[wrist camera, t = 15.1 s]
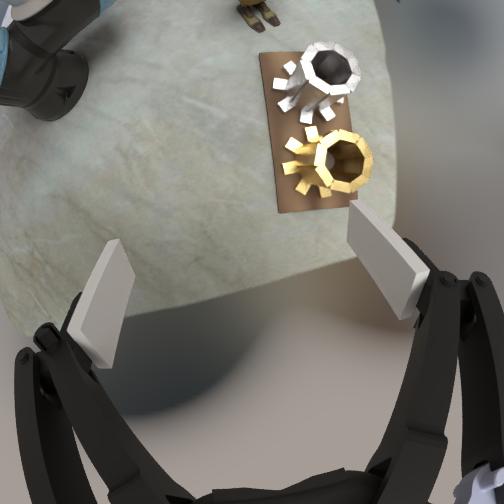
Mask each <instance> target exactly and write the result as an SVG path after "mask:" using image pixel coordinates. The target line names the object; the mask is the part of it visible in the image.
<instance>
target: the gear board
mask: <svg viewBox="0 0 504 504" xmlns="http://www.w3.org/2000/svg"><path fill="white" fill-rule="evenodd" d="M304 53H305V52H266V53H259V58H260V65H261V71H262V78H263V85H264V92H265V100H266V107H267V114H268V122H269V130H270V138H271V146H272V155H273V163H274V172H275V181H276V191H277V200H278V210H279V213H286V212H295V211H305V210H315V209H325V208H336V207H347V206H349V205H350V200H358V195H357V190H356V191H355V192H353V193H352V192H350V193H346V192H341V191H337V190H332V189H330V190H331V195H332V196H329V197H324V198H320V197H319V196H318V191H317V187H316V185H313V184H312V185H311V186H310V188H309V190H308V191H307V193H306V194H305V195H303V194H302V193H300V192H299V191H297V190H295V189H294V187H295V185H296V184H297V182H298V181H299V179H300V176H299V174H298V173H297V172H296V173H291V174H287V175H284V174H283V169H282V165H281V164H282V163H287V162H292V161H294V158H295V154H294V153H292V152H291V151H289V150H287V149H286V148H284V146H285V144H286V143H287V141H288V140H289V138H290V137H292V138H293V139H295V140H296V141H298V142H300V143H301V144H303V143H305V142H306V139H305V135H304V131H303V129H304V128H307V127H313V126H316V129H317V132H318V136H320V135H323V134H326V133H328V132H329V131H331V130H333V131H334V130H339V129H340V130H344V131H348V132H351V133H352V126H351V119H350V112H349V105H348V99H347V95H346V96H345V97H344V101H343V104H341V105H338V104H334V103H333V104H332V105H330V106H329V107H330V109H331V110H332V111H333V113H334V114H335V115H336V116H335V117H333V118H331V119H330V120H328V121H327V122H325V123H324V121H323V120H322V118H321V117H320V116H319V114H318V113H317V112H314V113H313V114H312V122H311V124H310V125H306V124H301V123H298V120H299V113H300V111H299V110H298V109H296V108H292V109H290V110H289V111H287V112H286V113H284V114H283V113H282V112H281V110H280V109H279V108H278V107H277V104H278V103H279V102H281V101H282V100H284V99H286V98H287V97H286V93H284V92H278V91H272V87H273V81H274V78H277V79H283V80H288V79H289V77H288V76H287V74H286V73H285V72H284V71H283V70H282V67H283V66H284V65H285V64H287V63H289V62H291V61H292V62H293V63H294V64H295V65H297V64H298V62H299V60H300V59H301V57H302V56H303V54H304ZM316 77H317V76H316ZM317 78H319V77H317ZM319 79H321V78H319ZM321 80H322V79H321ZM322 81H323V80H322ZM333 166H334V157H333V156H332V154H330V153H329V152H326V159H325V167H326V168H327V170H328V171H330V169H331V168H332V167H333Z"/></svg>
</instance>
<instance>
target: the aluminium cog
mask: <svg viewBox="0 0 504 504" xmlns="http://www.w3.org/2000/svg"><path fill="white" fill-rule="evenodd" d="M352 55H353V54H352V53H350V52H349V51H347V50H346V49H344V48H343V47H341V46H340V45H338V44H336V43H335V44H334V45H333V42H324V43H313V44H312V45H310V46H309V47H308V49H307V50H306V52H305V53H304V54H303V56H302V57H301V59H300V60H299V62H298V64H297V65H295V64H294V63H293V62H292V61H291V62H289V63H287V64H285V65H284V66H283V67H282V70H283V71H284V72H285V73H286V74H287V76H288V77H289V79H288V80H283V79H277V78H274V81H273V87H272V91H278V92H284V93H286V97H287V98H286V99H284V100H282V101H281V102H279V103H278V104H277V107H278V108H279V109H280V110H281V112H282V113H283V114H284V113H286V112H287V111H289V110H290V109H292V108H296V109H298V110H299V111H300V113H299V120H298V123H301V124H306V125H310V124H311V122H312V114H313V113H314V112H317V113H318V114H319V116H320V117H321V118H322V120H323V121H324V123H325V122H327V121H328V120H330V119H331V118H333V117H335V116H336V115H335V114H334V113H333V111H332V110H331V109H330V107H329V106H330V105H332V104H333V103H334V104H338V105H341V104H343V101H344V97H345V96H346V95H348V94H350V93H351V92H353V90H354V89H355V87H356V85H357V84H358V82H359V80H360V79H361V77H360V75H361V72H360V69H359V66H358V63H357V61H356V58H355V57H352ZM316 76H317V77H319V78H321V79H322V80H323V81H322V80H321V79H319V78H317V77H316Z"/></svg>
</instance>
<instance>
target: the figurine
mask: <svg viewBox="0 0 504 504" xmlns="http://www.w3.org/2000/svg"><path fill="white" fill-rule="evenodd" d="M239 1H240V2H241V4H240V5H239V6H237V11H238V12H239V13H240V14H241V15H242V16H243V17H244V19H245V20H246V22H247V24H248V25H249V26H250V27H251V28H252V29H254V30H256V31H257V32H263V31H265V30H266V29H265V27H264V25H263V24H262V22H261V21H260V19H259V18H257V17H256V16H255V15H253V14H252V12H251V10H250V8H249V6H248V5H252V6H253V7H255V8H256V9H258V10H259V11H260V12H261V13H262V16H263V18H264V19H265V20H266V21H268V22H269V23H270V24H272V25H273V26H278V25H280V24H281V23H280V21H279V19H278V18H277V16H276V14H275V13H273V12H272V11H271V10H270V9H269V8H268V7H267V5H266V4H265V3H264V1H266V0H239Z"/></svg>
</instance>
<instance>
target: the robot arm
mask: <svg viewBox="0 0 504 504" xmlns="http://www.w3.org/2000/svg"><path fill="white" fill-rule="evenodd" d="M1 1H3V2H5V3H8V4H10V5H12V9H11V17H12V19H14V20H13V21H12V22H11V24H10V25H9V26H8V27H7V28H6V27H0V105H4V106H13V107H21V108H25V109H26V110H27V111H29V112H30V113H31V114H32V115H33V116H34V117H36V118H38V119H40V120H47V121H52V120H56V119H59V118H60V117H62V116H64V115H65V114H66V113H68V112H69V111H70V110H71V109H72V108H73V106H74V105H75V104H76V103H77V101H78V100H79V98H80V97H81V95H82V93H83V91H84V88H85V86H86V83H87V79H88V64H87V61H86V59H85V58H84V56H83V55H81V54H79V53H78V52H76V51H73V50H61V49H62V48H63V47H64V46H65V45H66V44H67V43H68V42H69V41H70V40H71V39H72V38H73V37H75V36H76V35H77V34H78V33H79V32H80V31H81V30H83V29H84V28H85V27H86V26H87V25H89V24H90V23H91V22H92V21H93V20H95V19H96V18H98V17H99V16H100V15H101V14H102V13H103V12H104V11H105V10H106V9H107V8H109V7H110V6H111V5H112V4H113V3H114V2H115V1H116V0H1ZM347 242H348V244H349V245H350V246H351V248H352V249H353V251H354V252H355V253H356V255H357V256H358V258H359V259H360V261H361V262H362V263H363V265H364V266H365V268H366V269H367V271H368V272H369V273H370V275H371V277H372V278H373V279H374V281H375V282H376V284H377V286H378V287H379V289H380V290H381V292H382V293H383V295H384V296H385V298H386V299H387V301H388V302H389V304H390V305H391V307H392V309H393V310H394V312H395V313H396V315H397V317H398V318H399V320H402V319H405V318H408V317H411V316H412V315H413V313H414V311H415V308H416V307H417V308H418V310H419V311H420V314H419V316H418V319H417V321H416V323H415V325H414V327H413V328H416V330H415V335H414V340H413V344H412V349H411V353H410V357H409V361H408V365H407V368H406V372H405V376H404V379H403V382H402V386H401V389H400V392H399V395H398V399H397V401H396V405H395V408H394V410H393V413H392V416H391V418H390V421H389V424H388V426H387V429H386V432H385V434H384V436H383V439H382V441H381V444H380V445H379V447H378V449H377V450H376V452H375V453H374V455H373V456H372V458H371V460H370V462H369V463H368V465H367V467H366V469H365V471H364V472H362V471H351V470H347V471H345V469H344V468H341V469H338V470H334V471H330V472H327V473H323V474H319V475H315V476H312V477H310V478H308V479H305V480H303V481H301V482H299V483H297V484H294V485H292V486H290V487H288V488H285V489H282V490H264V489H253V488H232V489H213V490H212V493H210V494H208V495H205V496H202V497H201V498H199V499H195V498H194V497H193V496H192V495H191V494H190V493H189V492H188V491H187V490H185V489H184V488H183V487H181V486H180V485H179V484H177V483H176V482H175V481H174V480H172V478H171V477H170V476H169V475H168V474H167V473H166V472H165V471H164V470H163V469H162V468H161V467H160V465H159V464H158V463H157V462H156V461H155V459H154V458H153V457H152V456H151V455H150V453H149V452H148V451H147V450H146V449H145V447H144V446H143V445H142V444H141V442H140V441H139V440H138V438H137V437H136V436H135V434H134V433H133V432H132V430H131V429H130V428H129V426H128V425H127V423H126V422H125V421H124V419H123V418H122V416H121V415H120V413H119V412H118V410H117V409H116V407H115V406H114V404H113V403H112V401H111V400H110V398H109V396H108V395H107V393H106V392H105V390H104V388H103V386H102V385H101V383H100V381H99V380H98V378H97V376H96V374H95V373H94V371H93V370H92V369H91V364H92V362H93V363H94V364H95V365H96V366H97V367H98V368H112V365H113V360H114V355H115V351H116V347H117V342H118V338H119V334H120V330H121V326H122V322H123V318H124V314H125V311H126V307H127V303H128V300H129V296H130V293H131V290H132V286H133V283H134V280H135V277H136V276H135V274H134V271H133V269H132V267H131V265H130V262H129V260H128V258H127V255H126V253H125V251H124V248H123V246H122V243H121V241H120V239H115V240H110V241H108V242H107V244H106V246H105V248H104V250H103V252H102V254H101V256H100V258H99V259H98V261H97V263H96V265H95V267H94V269H93V271H92V273H91V276H90V278H89V280H88V282H87V284H86V286H85V288H84V290H83V292H80V293H79V294H78V295H77V296H76V297H75V299H74V300H73V302H72V304H71V307H70V309H69V311H68V313H67V314H68V315H67V316H66V318H65V321H64V323H63V325H62V328H61V330H60V332H59V331H58V329H57V328H56V327H55V325H54V324H53V323H50V322H48V323H45V324H43V325H41V326H40V327H39V328H38V329H37V331H36V332H35V334H34V337H33V338H34V339H33V342H34V343H35V344H36V345H37V346H38V347H39V348H40V350H41V351H40V352H37V353H35V352H34V351H33V350H32V349H31V348H30V347H25V348H23V349H22V350H20V351H19V353H18V354H17V356H16V359H15V373H14V393H15V394H14V395H15V416H16V427H17V435H18V443H19V450H20V456H21V461H22V466H23V471H24V476H25V480H26V484H27V488H28V491H29V495H30V498H31V502H32V504H97V501H96V499H95V497H94V494H93V492H92V489H91V487H90V484H89V481H88V479H87V476H86V473H85V470H84V468H83V464H82V461H81V458H80V455H79V451H78V448H77V444H76V441H75V437H74V433H73V430H72V427H73V429H74V431H75V433H76V435H77V437H78V439H79V441H80V442H81V444H82V446H83V448H84V450H85V452H86V453H87V455H88V457H89V459H90V460H91V462H92V463H93V465H94V467H95V468H96V470H97V472H98V473H99V475H100V476H101V478H102V479H103V481H104V482H105V484H106V485H107V487H108V489H109V493H108V495H107V496H108V499H109V501H110V503H111V504H431V503H429V502H427V501H428V499H429V496H430V494H431V492H432V489H433V487H434V484H435V482H436V479H437V477H438V474H439V471H440V468H441V465H442V462H443V459H444V456H445V453H446V449H447V444H448V439H447V437H446V436H445V435H444V430H445V425H446V421H447V417H448V413H449V408H450V403H451V398H452V393H453V386H454V381H455V374H456V366H457V357H458V359H459V367H460V377H461V390H462V414H463V415H462V418H463V424H462V425H463V426H462V427H463V428H462V451H461V467H462V468H461V470H462V480H461V481H460V483H459V485H457V486H456V487H455V489H454V492H453V495H454V497H455V498H456V500H455V503H454V504H504V313H503V310H502V307H501V304H500V301H499V299H498V296H497V294H496V291H495V289H494V286H493V284H492V281H491V280H490V278H489V277H488V276H487V275H486V274H484V273H482V272H477V271H476V272H473V273H472V274H471V277H470V279H469V280H458V279H457V277H456V276H455V275H453V274H452V273H450V272H447V271H439V269H438V268H437V267H436V266H435V265H434V264H433V263H432V262H431V260H429V258H428V257H427V256H426V255H424V253H423V252H422V251H421V250H420V249H419V248H418V246H417V245H415V244H414V242H412V241H410V240H409V239H407V238H400V237H399V236H398V235H397V233H396V232H395V231H394V230H393V229H392V228H391V227H390V226H389V225H388V224H387V223H386V222H385V221H384V220H383V219H382V218H381V217H380V216H379V215H378V214H377V213H376V212H374V211H373V210H372V209H371V208H370V207H369V206H368V205H367V204H366V203H365V202H364V201H363V200H362V199H359V200H350V205H349V219H348V231H347Z"/></svg>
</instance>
